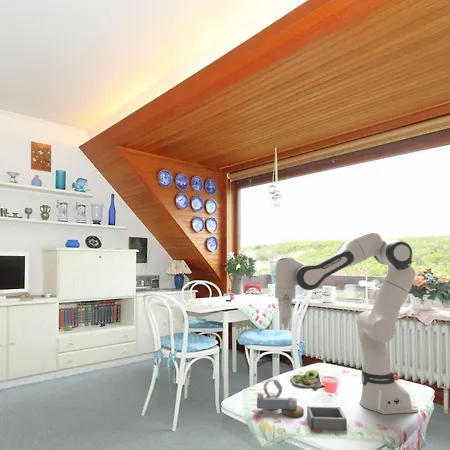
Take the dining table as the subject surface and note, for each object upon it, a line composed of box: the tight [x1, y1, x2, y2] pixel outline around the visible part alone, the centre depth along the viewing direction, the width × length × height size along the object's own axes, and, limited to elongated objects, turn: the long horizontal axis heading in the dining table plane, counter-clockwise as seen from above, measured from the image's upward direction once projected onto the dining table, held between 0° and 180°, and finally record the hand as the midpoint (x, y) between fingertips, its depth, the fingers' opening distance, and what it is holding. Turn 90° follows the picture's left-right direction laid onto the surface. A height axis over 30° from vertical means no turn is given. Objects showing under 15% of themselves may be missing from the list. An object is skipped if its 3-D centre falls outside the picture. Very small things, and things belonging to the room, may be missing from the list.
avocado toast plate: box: [290, 369, 322, 389], centre depth 193 cm, size 19×18×5 cm
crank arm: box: [256, 391, 298, 410], centre depth 159 cm, size 16×4×6 cm, turn 85°
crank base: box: [280, 405, 305, 418], centre depth 158 cm, size 9×9×2 cm
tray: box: [306, 405, 348, 431], centre depth 148 cm, size 13×11×4 cm
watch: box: [263, 377, 283, 398], centre depth 166 cm, size 6×8×11 cm
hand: (284, 325), depth 169 cm, fingers open, 8 cm apart
